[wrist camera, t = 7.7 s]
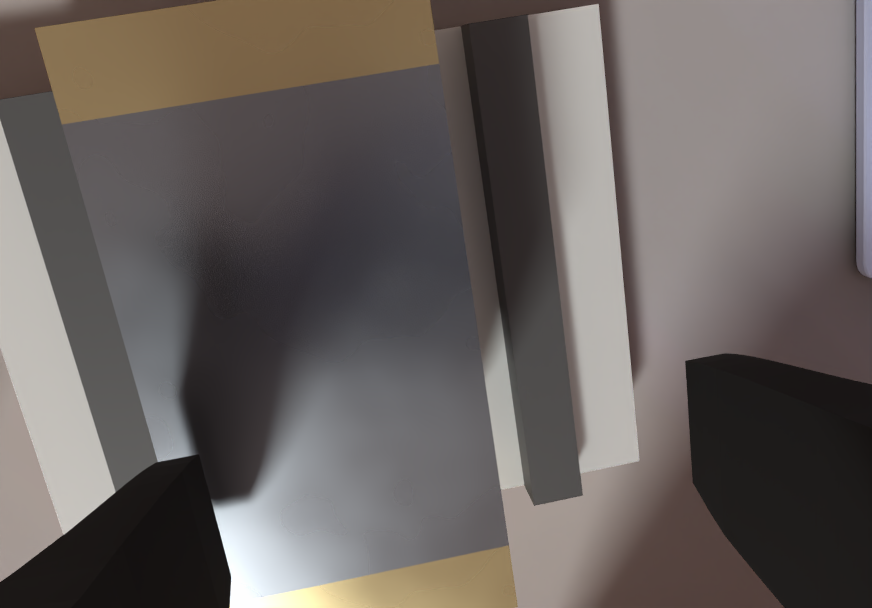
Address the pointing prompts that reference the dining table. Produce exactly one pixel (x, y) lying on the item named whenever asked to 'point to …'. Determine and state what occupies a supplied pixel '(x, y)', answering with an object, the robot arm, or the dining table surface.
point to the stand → (486, 253)
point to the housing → (296, 288)
